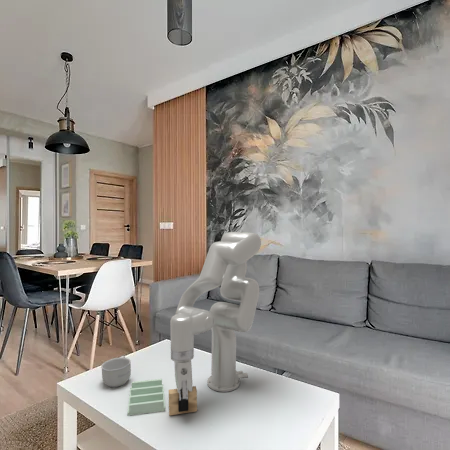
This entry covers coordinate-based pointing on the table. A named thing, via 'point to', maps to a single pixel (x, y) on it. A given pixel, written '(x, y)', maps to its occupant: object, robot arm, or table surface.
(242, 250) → the robot arm
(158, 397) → the dish rack
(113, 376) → the teacup
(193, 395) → the oak board
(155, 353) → the table surface
